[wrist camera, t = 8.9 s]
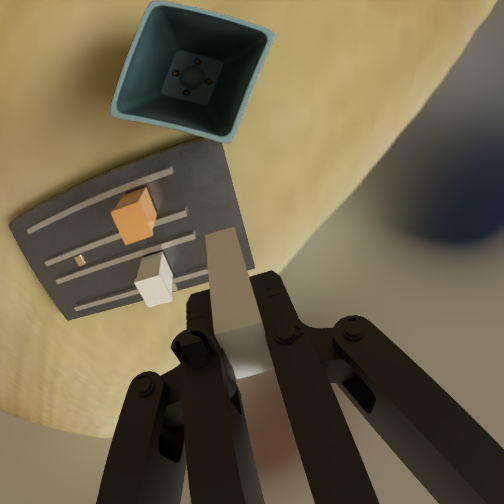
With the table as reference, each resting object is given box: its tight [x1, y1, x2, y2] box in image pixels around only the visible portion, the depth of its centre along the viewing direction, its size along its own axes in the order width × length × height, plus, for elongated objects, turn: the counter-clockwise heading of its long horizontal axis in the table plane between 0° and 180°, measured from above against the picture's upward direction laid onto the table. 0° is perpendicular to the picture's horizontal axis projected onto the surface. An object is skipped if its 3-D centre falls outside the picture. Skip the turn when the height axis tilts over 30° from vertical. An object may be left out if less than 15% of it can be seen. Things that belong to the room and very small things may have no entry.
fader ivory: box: [134, 252, 173, 307], centre depth 27 cm, size 3×3×4 cm
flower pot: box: [110, 1, 275, 144], centre depth 18 cm, size 9×9×9 cm
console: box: [9, 137, 255, 321], centre depth 27 cm, size 26×15×3 cm, turn 103°
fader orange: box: [110, 187, 157, 245], centre depth 23 cm, size 3×3×4 cm
